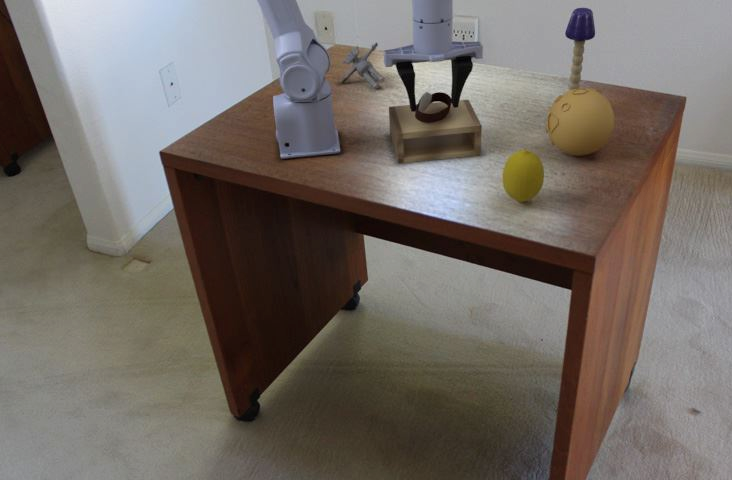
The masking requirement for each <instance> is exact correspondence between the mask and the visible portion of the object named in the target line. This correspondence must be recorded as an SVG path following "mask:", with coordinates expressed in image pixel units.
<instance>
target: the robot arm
mask: <svg viewBox="0 0 732 480" xmlns="http://www.w3.org/2000/svg"><path fill="white" fill-rule="evenodd" d="M257 3H258V5H259V7H260V10H261V12H262V14H263V17H264V19H265V21H266V24H267V26H268V28H269V31H270V33H271V35H272V37H273V40H274V53H275V55H274V56H275V61H276V63H277V65H278V69H279V84H280V87H281V89H282V91H283V92H284V93H281V94H276V95H272V96H273V97H272V102H273V113H274V120H275V126H276V130H275V138H276V141H277V142H278V147H279V155H280V159H282V160H283V159H284V160H285V159H293V158H304V157H314V156H323V155H324V156H326V155H335V154H340V153H341V148H340V146H341V145H340V139H339V138H340V137H339V132H338V129H336V123H335V111H334V102H333V91H332V87H331V85H330V83H329V82H328V80H327V78H326V75H327V74H328V72H329V71H330V68H331V62H332V61H331V56H330V53H329V51H328V50H327V48H326V47H325V46H324V45H323V44H322V43H321V42H320V41H319V39H318V38H317V37H316V34H315V32H314V30H313V28H311V26H309V25H308V24H307V23H306V22H305V19H304V16H303V13H302V11H301V9H300V7H299V5H298V2H297V0H257ZM453 4H454V3H453V0H411V5H412V7H411V8H412V10H411V11H412V39H413V41H412V42H413V44H409V45H405V46H401V47H396V48H395V47H394V48H390V49H384V50H383V51H382V53H383V64H384V67H385V68H392V67H393V66H395V68H396V71H397V74H398V76H399V78H400V80H401V82H402V84H403V85H404V88H405V90H406V93H407V98H408V102H409V105H410V109H411V112H415V111H416V104H417V101H416V72H415V69H414V64H421V63H428V62H429V63H430V62H431V63H439V62H444V61H450V63H451V64H450V65H451V91H450V92H451V93H450V94H451V95H450V97H451V101H452V105H453V107H454V108H457V107H458V105H459V100H461V96H462V92H463V90H464V87H465V84H466V82H467V80H468V78H469V76H470V74H471V73H472V71H473V67H474V62H473V61H472V60H473V58H474V59H475V60H480V59H481V60H482V59H483V57H484V55H483V54H484V53H483V52H484V45H483V44H482V42H481V41H456V40H455V41H454V40H453V16H454V15H453V10H454V9H453Z"/></svg>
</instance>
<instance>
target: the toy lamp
mask: <svg viewBox="0 0 732 480" xmlns="http://www.w3.org/2000/svg"><path fill="white" fill-rule="evenodd" d="M564 36H565V37H566V38H567V39H569V40H572V41H573V44H574V47H573V49H572V52H573V55H572V58H571V62H572V65H571V67H570V75H569V81H570V82H569V83H568V91H570V90H573V89H578V88H581V87H580V86H581V85H580V81H581V79H582V75H581V73H582V70H583V65H582V64H583V62H584V56H583V55H584V53H585V44H586V41H590V40H593V38H595V36H596V25H595V19H594V13H593V10H592V9H591V8H589V7H577V8H575V9H573V11H572V13H571V15H570V17H569V21H568V24H567V26H566V29H565V35H564Z"/></svg>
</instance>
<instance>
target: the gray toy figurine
mask: <svg viewBox="0 0 732 480" xmlns="http://www.w3.org/2000/svg"><path fill="white" fill-rule="evenodd" d="M378 44H379V43H378V42H375V43H374V44H371V48H369V50H368V51H366V52H365V53H364V54H363V55H361V56H360V57H358V56H359V55H360V49H359V45H357V46H355V47H353V49H352V50H349V51H348V53H347V56H346V57H345V58H344V59H343V60H342V64H347V65H350V64H352V63H353V64H352V65H351V68H350V69H349V71H348V72H347V74H346V75H345V76H344V77H341V80H340V84H344V83H345V82H347V81H348V79H349V78H350V77H351V76H352V75H353V74H354V73H355V72H357V74H358V75H359V77H361V78H364V79H365V80H366V81H367V82H368V83H369V84H370V85H371V86H372V87H373V88H374V90H378V89H379V88H380V85H379V83H378V82H377V81H376V80H378V81H379V82H380V83H384V82H385V80H386V79H385V77H384V76H383V75H382V74H381V73H380V72H378V70H376V68H374V65H373V63H372V62H371V61H369V60H368V58H369V57H370V56H371V54H372V53H373V52H374V51H375V50H376V49H377V47H378V46H379V45H378Z"/></svg>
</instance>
